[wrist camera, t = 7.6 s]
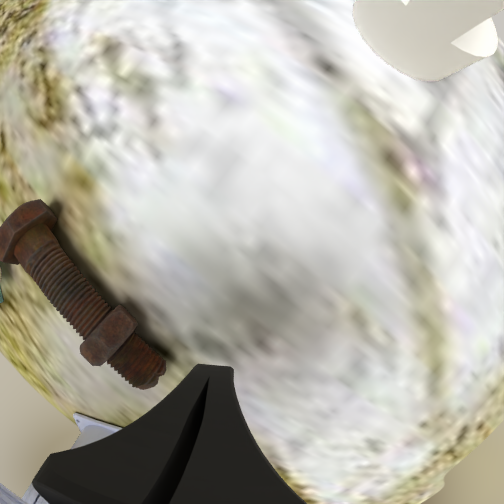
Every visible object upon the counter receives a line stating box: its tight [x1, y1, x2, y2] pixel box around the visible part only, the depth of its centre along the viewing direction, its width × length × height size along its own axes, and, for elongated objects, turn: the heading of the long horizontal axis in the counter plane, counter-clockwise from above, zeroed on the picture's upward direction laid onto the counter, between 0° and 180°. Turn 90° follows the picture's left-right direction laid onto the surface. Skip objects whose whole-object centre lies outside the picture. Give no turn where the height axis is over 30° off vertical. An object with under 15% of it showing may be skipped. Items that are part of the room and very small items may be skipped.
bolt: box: [0, 199, 166, 390], centre depth 16 cm, size 6×5×15 cm
